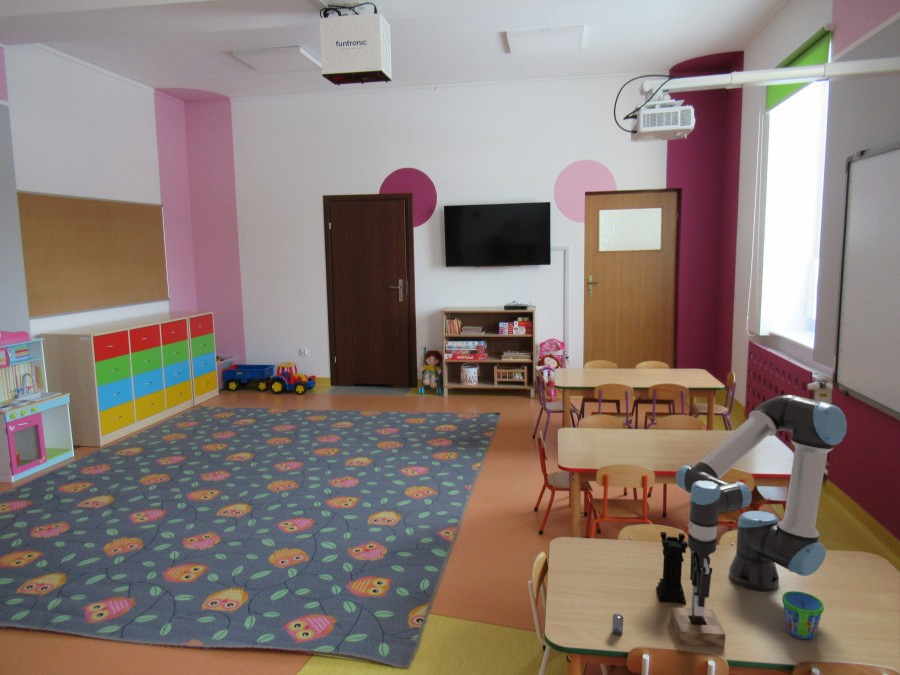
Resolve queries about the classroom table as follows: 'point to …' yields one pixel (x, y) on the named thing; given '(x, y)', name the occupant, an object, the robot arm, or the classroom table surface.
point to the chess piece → (672, 570)
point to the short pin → (617, 624)
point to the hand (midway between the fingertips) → (697, 611)
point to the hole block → (697, 628)
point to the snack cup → (802, 614)
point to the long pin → (695, 619)
